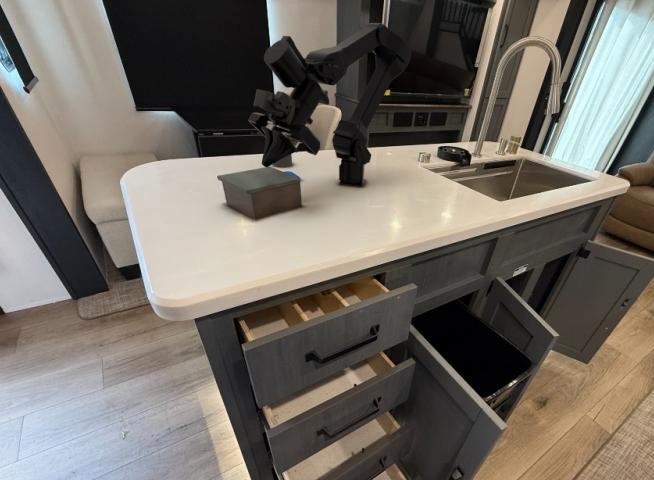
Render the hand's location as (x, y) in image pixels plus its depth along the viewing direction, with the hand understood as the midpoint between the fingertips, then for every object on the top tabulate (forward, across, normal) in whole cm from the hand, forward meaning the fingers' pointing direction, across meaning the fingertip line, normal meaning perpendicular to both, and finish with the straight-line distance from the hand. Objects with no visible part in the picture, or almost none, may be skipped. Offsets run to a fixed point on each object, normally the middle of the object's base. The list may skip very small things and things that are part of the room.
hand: (263, 165), depth 70 cm
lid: (+3, 0, +1) cm, 3 cm away
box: (+7, 0, +5) cm, 9 cm away
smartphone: (-1, -15, +14) cm, 20 cm away
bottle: (-9, -25, +22) cm, 35 cm away
